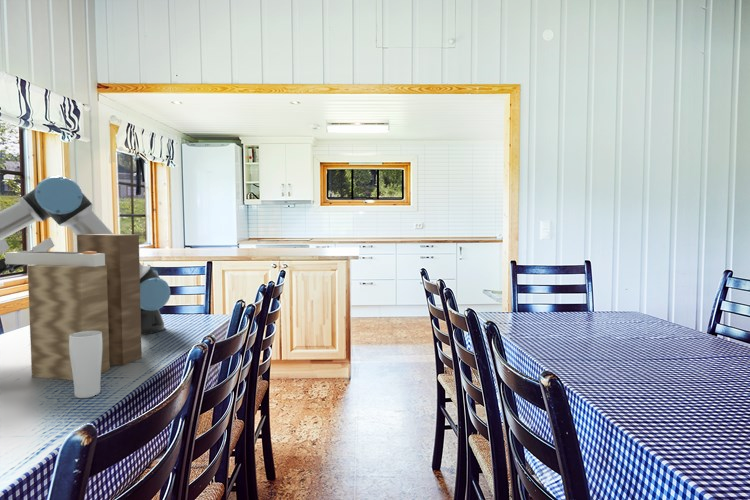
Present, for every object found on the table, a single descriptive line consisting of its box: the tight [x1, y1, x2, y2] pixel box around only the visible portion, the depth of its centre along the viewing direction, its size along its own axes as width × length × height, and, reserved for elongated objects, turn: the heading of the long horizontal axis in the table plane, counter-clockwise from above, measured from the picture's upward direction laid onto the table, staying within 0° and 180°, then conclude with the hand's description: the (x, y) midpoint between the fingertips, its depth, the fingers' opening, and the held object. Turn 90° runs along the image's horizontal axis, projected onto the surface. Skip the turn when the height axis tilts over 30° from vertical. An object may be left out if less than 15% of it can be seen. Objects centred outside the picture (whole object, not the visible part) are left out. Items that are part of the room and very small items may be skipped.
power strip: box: [4, 250, 105, 267], centre depth 123 cm, size 28×4×4 cm, turn 80°
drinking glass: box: [69, 331, 103, 399], centre depth 108 cm, size 7×7×15 cm
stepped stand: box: [27, 233, 143, 381], centre depth 129 cm, size 17×21×38 cm
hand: (30, 242), depth 124 cm, fingers open, 13 cm apart
